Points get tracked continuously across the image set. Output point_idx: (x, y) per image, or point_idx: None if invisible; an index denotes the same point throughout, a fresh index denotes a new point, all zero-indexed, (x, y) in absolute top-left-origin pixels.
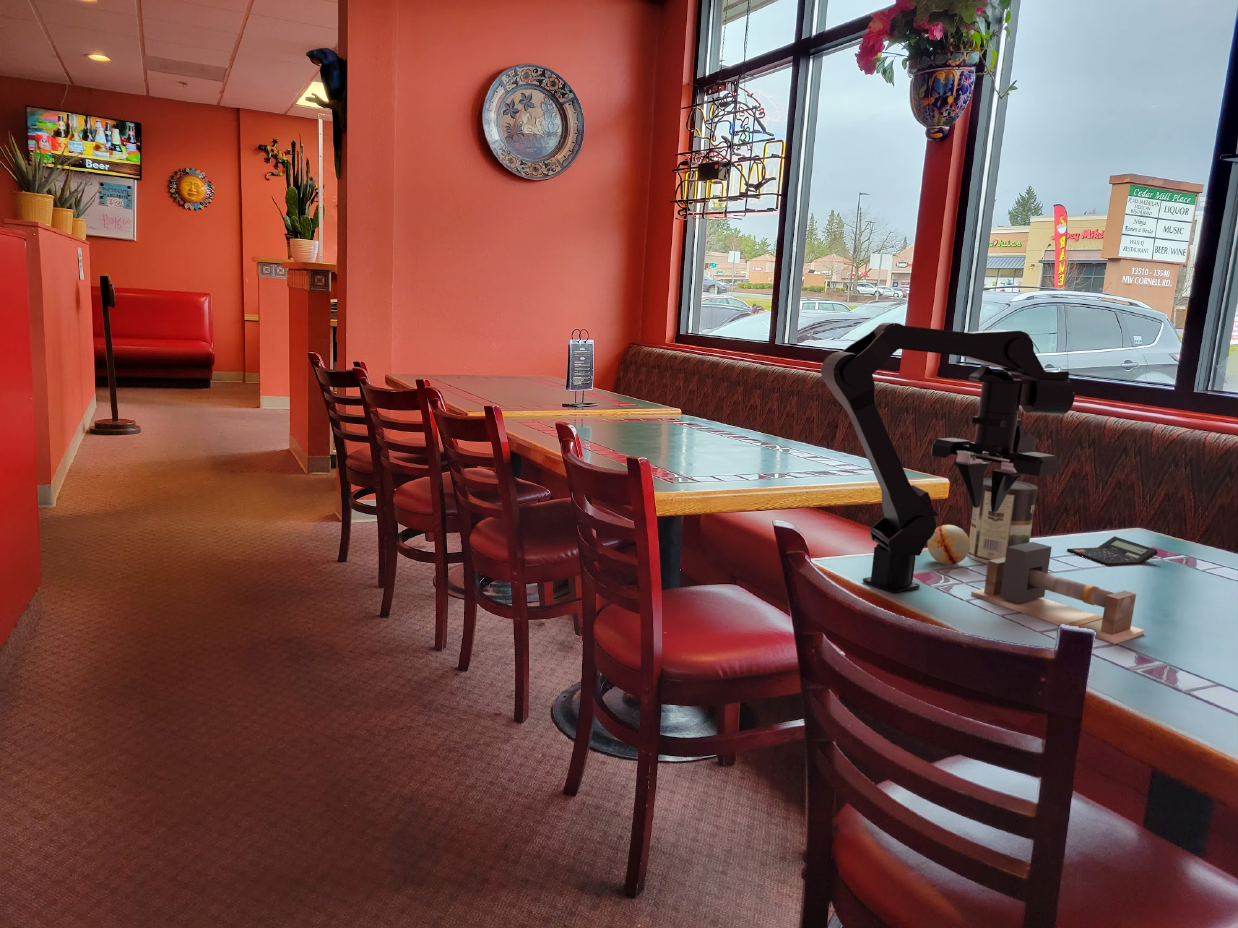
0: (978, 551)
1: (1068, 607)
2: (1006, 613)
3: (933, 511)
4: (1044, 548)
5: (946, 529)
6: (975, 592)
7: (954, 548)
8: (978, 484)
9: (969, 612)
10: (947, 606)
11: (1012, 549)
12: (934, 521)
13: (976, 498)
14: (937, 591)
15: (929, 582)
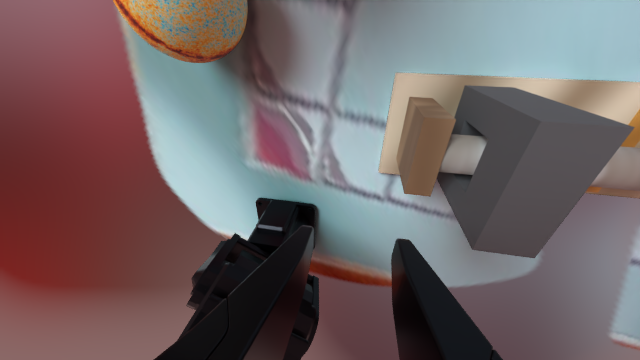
0: None
1: (577, 91)
2: None
3: (299, 356)
4: (597, 174)
5: (161, 29)
6: (386, 171)
7: (232, 41)
8: (268, 355)
9: (414, 235)
10: (382, 236)
11: (489, 249)
12: (310, 330)
13: (303, 283)
14: (336, 194)
15: (300, 165)
